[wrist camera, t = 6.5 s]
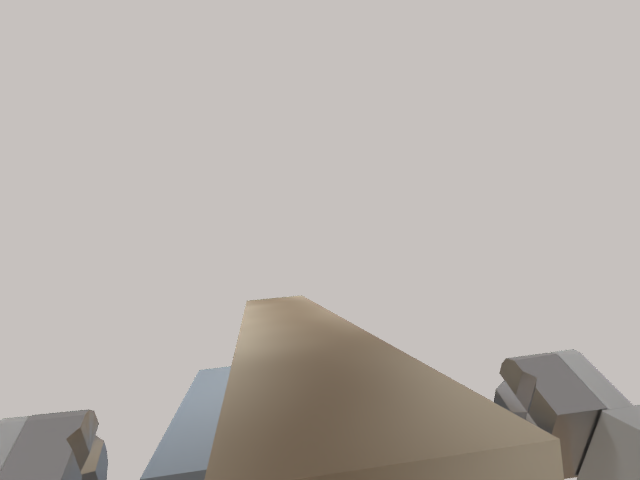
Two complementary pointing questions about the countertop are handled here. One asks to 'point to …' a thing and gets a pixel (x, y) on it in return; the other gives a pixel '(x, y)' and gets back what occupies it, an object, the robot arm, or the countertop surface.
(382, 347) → the block
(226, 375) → the stepped stand
